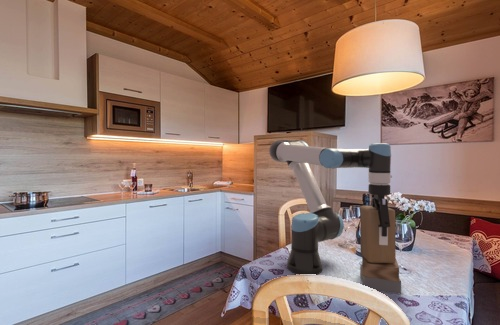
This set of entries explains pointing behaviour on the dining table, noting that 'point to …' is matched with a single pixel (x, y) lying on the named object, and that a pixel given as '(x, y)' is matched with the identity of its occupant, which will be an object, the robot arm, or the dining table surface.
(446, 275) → the dining table surface
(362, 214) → the wooden block
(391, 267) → the tower top slab
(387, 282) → the tower base slab
